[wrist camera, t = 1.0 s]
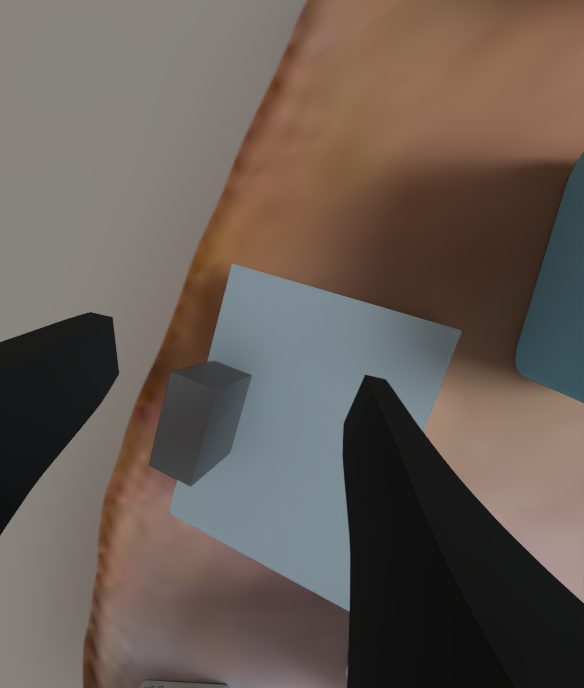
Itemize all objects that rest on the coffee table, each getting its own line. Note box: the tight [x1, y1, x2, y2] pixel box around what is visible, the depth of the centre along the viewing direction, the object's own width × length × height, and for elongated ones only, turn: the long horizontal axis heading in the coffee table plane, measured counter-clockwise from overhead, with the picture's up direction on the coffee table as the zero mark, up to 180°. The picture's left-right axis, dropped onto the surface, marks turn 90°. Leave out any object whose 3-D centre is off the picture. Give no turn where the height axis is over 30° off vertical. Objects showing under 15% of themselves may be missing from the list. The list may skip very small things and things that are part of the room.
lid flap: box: [149, 264, 462, 612], centre depth 17 cm, size 16×12×5 cm
